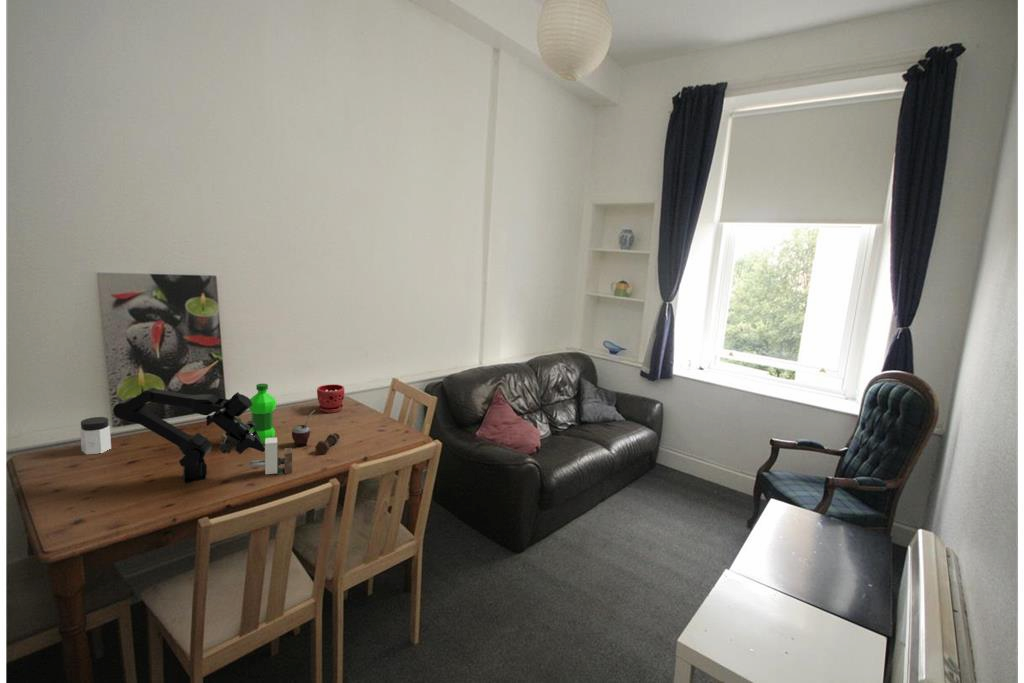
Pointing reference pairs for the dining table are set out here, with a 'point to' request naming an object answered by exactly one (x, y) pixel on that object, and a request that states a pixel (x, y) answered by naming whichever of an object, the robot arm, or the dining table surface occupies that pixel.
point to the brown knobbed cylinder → (327, 443)
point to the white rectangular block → (271, 456)
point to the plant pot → (330, 397)
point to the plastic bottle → (263, 412)
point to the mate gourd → (301, 434)
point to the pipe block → (287, 462)
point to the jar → (95, 435)
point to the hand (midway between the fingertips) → (264, 450)
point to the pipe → (262, 462)
